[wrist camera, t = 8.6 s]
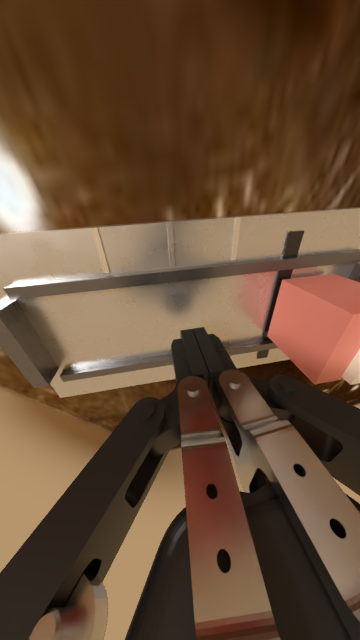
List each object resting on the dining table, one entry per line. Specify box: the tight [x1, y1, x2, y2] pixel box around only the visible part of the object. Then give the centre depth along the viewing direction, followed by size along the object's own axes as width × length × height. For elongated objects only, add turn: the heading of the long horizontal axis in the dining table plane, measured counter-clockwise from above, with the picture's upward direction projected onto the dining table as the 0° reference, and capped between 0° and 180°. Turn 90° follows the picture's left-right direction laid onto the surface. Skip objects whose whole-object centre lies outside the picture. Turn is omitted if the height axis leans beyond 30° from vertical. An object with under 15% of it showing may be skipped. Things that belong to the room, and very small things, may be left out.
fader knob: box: [267, 274, 360, 385], centre depth 11 cm, size 4×5×6 cm
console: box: [0, 207, 360, 398], centre depth 13 cm, size 26×13×4 cm, turn 93°
